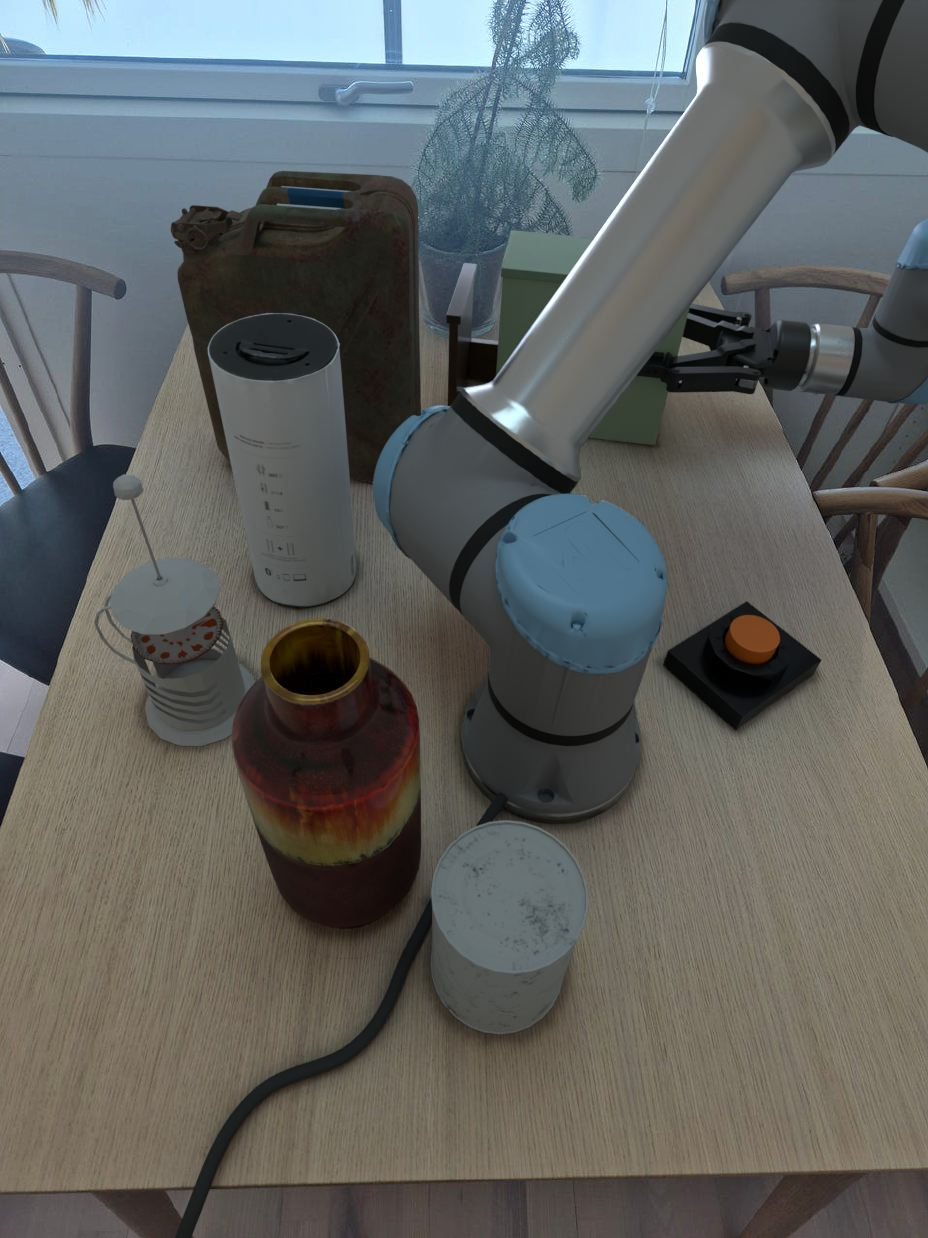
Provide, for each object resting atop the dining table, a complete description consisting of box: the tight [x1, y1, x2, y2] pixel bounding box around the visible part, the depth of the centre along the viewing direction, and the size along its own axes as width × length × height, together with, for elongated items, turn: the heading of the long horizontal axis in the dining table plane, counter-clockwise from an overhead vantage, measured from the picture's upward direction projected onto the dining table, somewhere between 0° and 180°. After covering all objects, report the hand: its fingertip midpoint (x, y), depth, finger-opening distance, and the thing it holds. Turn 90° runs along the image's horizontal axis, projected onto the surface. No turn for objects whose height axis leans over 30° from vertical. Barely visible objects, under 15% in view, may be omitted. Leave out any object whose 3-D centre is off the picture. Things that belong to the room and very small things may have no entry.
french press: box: [94, 473, 256, 747], centre depth 64 cm, size 10×12×25 cm
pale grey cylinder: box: [430, 819, 589, 1036], centre depth 54 cm, size 10×10×12 cm
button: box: [725, 615, 780, 664], centre depth 74 cm, size 4×4×2 cm
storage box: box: [496, 229, 690, 446], centre depth 97 cm, size 20×9×20 cm, turn 81°
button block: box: [662, 600, 823, 731], centre depth 76 cm, size 11×9×4 cm
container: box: [170, 170, 422, 483], centre depth 86 cm, size 23×10×30 cm, turn 85°
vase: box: [230, 618, 422, 930], centre depth 53 cm, size 11×11×26 cm
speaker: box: [208, 313, 357, 608], centre depth 74 cm, size 11×10×26 cm
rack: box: [445, 262, 498, 406], centre depth 99 cm, size 14×13×15 cm
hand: (604, 336), depth 96 cm, fingers closed on storage box, 9 cm apart
